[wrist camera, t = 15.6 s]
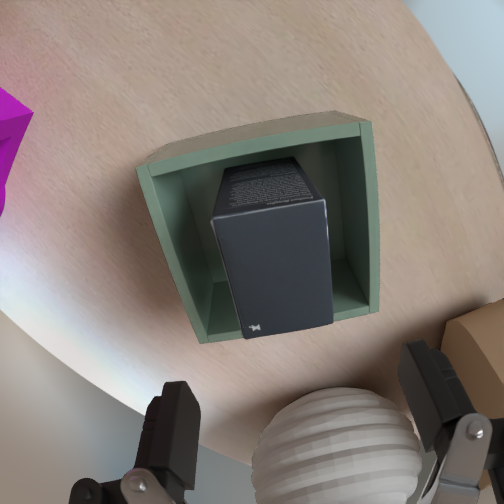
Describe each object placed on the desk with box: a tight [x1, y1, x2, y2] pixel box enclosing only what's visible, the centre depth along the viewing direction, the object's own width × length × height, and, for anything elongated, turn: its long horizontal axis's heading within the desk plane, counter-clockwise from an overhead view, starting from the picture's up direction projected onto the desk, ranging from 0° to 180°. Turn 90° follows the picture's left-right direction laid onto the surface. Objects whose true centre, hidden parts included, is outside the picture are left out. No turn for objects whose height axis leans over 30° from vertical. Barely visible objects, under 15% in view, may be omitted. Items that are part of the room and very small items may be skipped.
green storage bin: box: [135, 111, 380, 344], centre depth 23 cm, size 14×14×8 cm
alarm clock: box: [441, 298, 504, 491], centre depth 27 cm, size 21×10×22 cm, turn 16°
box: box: [210, 157, 334, 339], centre depth 21 cm, size 8×6×11 cm
